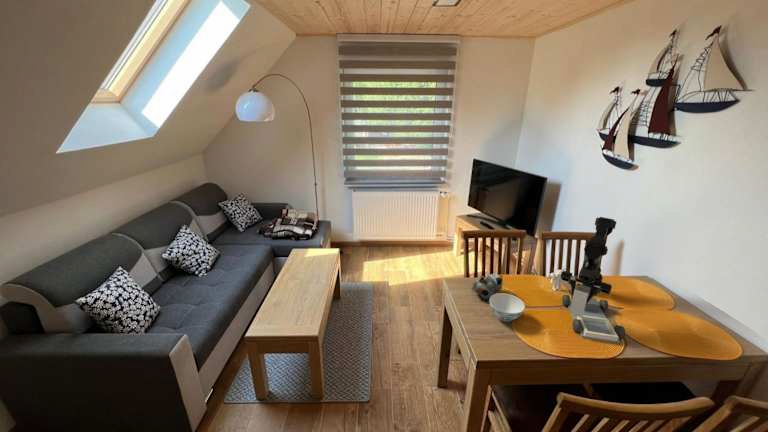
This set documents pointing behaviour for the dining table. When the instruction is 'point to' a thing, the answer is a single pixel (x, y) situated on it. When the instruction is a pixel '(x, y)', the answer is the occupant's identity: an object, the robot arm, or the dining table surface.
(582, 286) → the grey plastic box
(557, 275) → the hat wearing toy figure
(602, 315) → the chassis
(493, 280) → the grey lumpy piece
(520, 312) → the chinaware
